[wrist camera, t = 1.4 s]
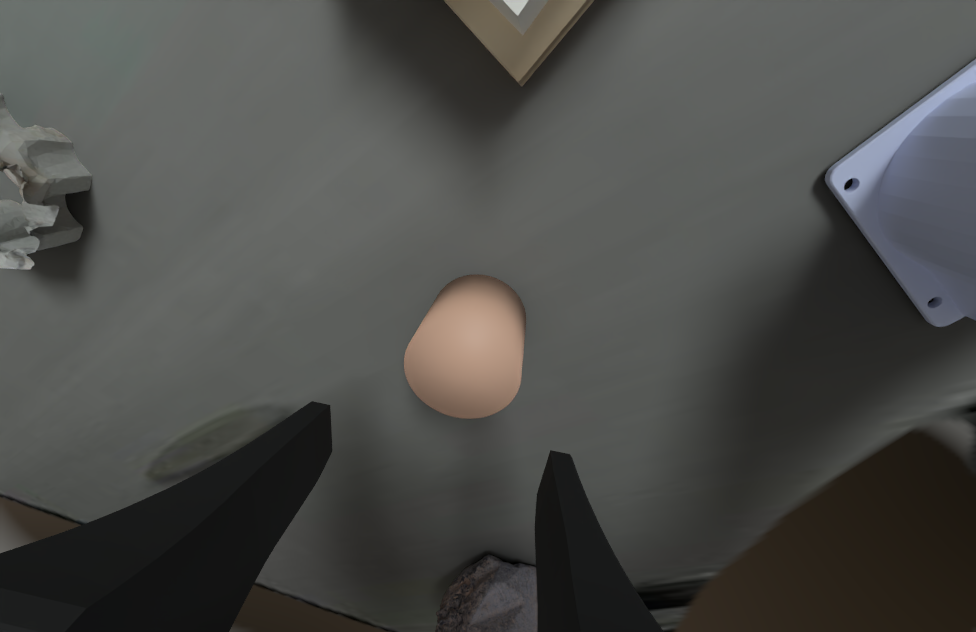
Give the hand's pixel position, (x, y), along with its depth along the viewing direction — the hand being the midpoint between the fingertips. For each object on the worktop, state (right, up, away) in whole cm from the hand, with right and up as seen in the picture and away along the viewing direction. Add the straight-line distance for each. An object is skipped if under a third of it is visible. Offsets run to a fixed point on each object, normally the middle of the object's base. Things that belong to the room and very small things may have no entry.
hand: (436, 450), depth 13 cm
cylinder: (+1, +4, +8) cm, 9 cm away
